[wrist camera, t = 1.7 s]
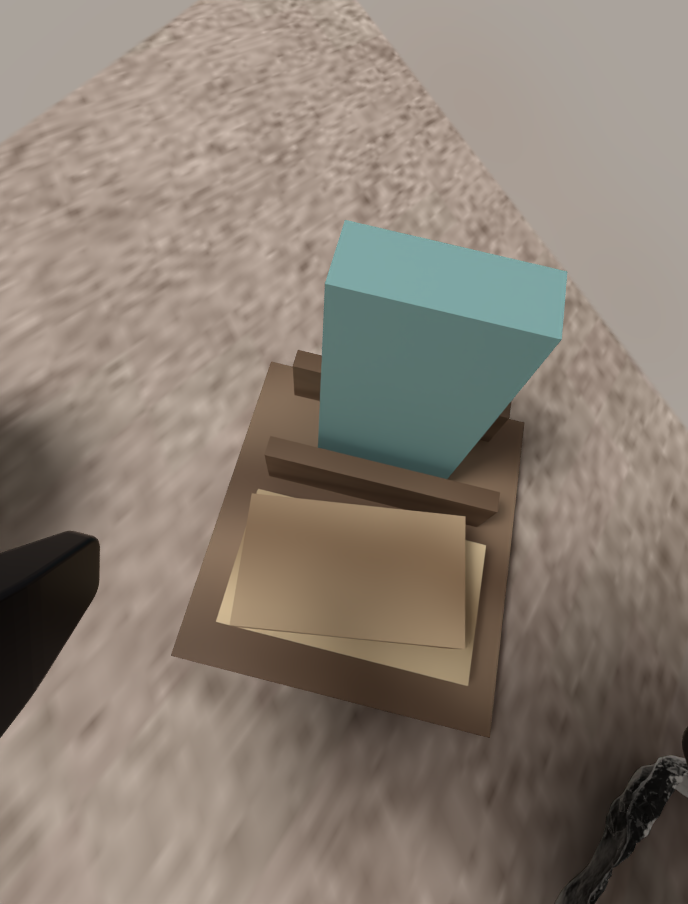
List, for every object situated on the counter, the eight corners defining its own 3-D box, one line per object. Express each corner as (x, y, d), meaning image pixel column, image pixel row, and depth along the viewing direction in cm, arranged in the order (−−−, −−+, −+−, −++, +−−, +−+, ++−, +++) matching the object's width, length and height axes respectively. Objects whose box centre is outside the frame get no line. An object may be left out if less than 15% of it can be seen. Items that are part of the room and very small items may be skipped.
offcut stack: (455, 683, 19) (483, 689, 16) (223, 623, 19) (206, 619, 16) (474, 543, 21) (502, 525, 18) (264, 490, 21) (256, 465, 18)
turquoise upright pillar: (441, 486, 21) (561, 339, 11) (317, 455, 22) (325, 283, 11) (448, 444, 22) (567, 271, 12) (328, 415, 22) (345, 219, 12)
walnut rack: (479, 732, 19) (516, 751, 16) (178, 655, 19) (150, 656, 16) (514, 433, 24) (548, 397, 21) (273, 374, 24) (267, 329, 21)
